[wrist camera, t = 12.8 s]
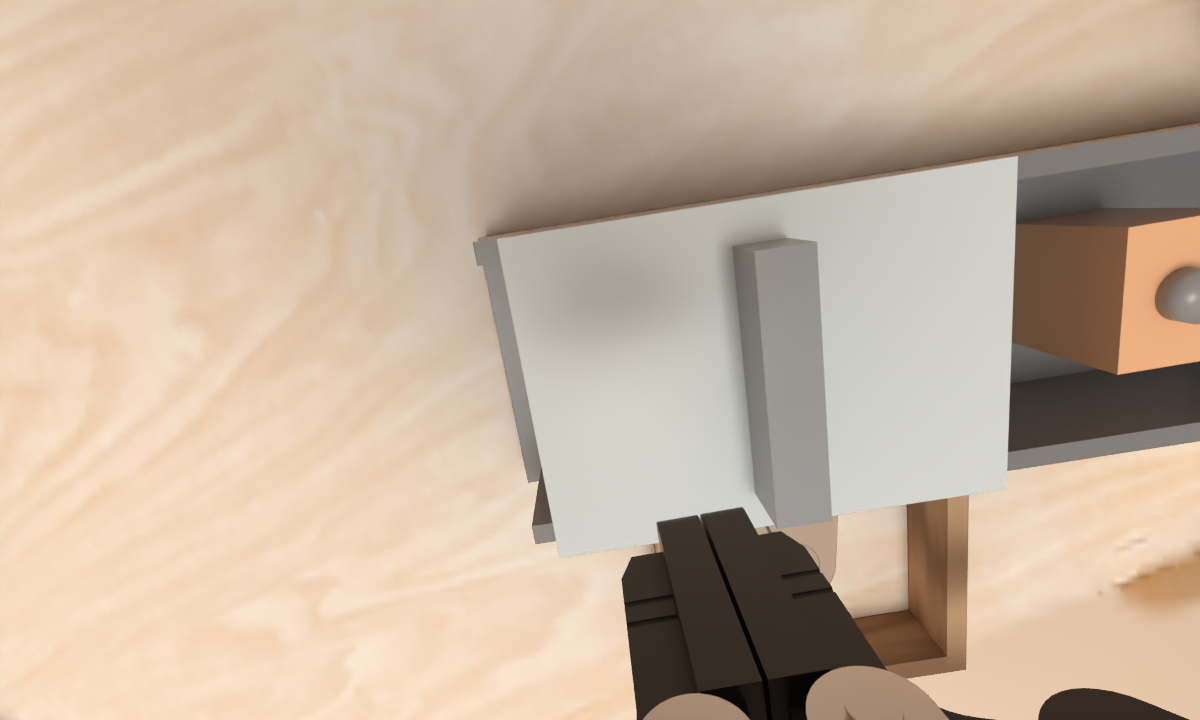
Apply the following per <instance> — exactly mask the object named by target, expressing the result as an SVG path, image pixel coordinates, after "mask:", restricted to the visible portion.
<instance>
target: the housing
mask: <svg viewBox="0 0 1200 720" xmlns="http://www.w3.org/2000/svg"><path fill="white" fill-rule="evenodd" d="M1015 156H1018V170H1017V200H1016V223H1017V222H1023V221H1029V220H1035V219H1040V218H1046V217H1052V216H1058V215H1064V214H1070V213H1076V212H1082V211H1088V210H1094V209H1100V208H1200V123H1194V124H1188V125H1181V126H1175V127H1169V128H1162V129H1156V130H1150V131H1144V132H1137V133H1131V134H1125V135H1119V136H1112V137H1106V138H1100V139H1094V140H1087V141H1081V142H1075V143H1069V144H1062V145H1056V146H1050V147H1044V148H1037V149H1031V150H1025V151H1018V152H1012V153H1006V154H1000V155H993V156H987V157H981V158H975V159H968V160H962V161H956V162H950V163H943V164H937V165H931V166H925V167H918V168H912V169H906V170H900V171H893V172H887V173H881V174H875V175H868V176H862V177H856V178H849V179H843V180H837V181H831V182H824V183H818V184H812V185H806V186H799V187H793V188H787V189H781V190H774V191H768V192H762V193H756V194H749V195H743V196H737V197H731V198H724V199H718V200H712V201H705V202H699V203H693V204H687V205H680V206H674V207H668V208H662V209H655V210H649V211H643V212H637V213H630V214H624V215H618V216H612V217H605V218H599V219H593V220H587V221H580V222H574V223H568V224H562V225H555V226H549V227H543V228H536V229H530V230H524V231H518V232H511V233H505V234H499V235H493V236H486V237H482V238H478V241H476V242H473V246H474V251H475V256H476V260H477V265H478V266H479V265H484V270H485V275H486V280H487V285H488V290H489V294H490V299H491V304H492V309H493V314H494V319H495V324H496V328H497V333H498V338H499V343H500V348H501V353H502V358H503V362H504V367H505V372H506V377H507V382H508V387H509V392H510V396H511V401H512V406H513V411H514V416H515V421H516V426H517V431H518V435H519V440H520V445H521V450H522V455H523V460H524V465H525V469H526V474H527V479H528V483H529V482H536V481H539V484H538V491H537V497H536V503H535V510H534V516H533V523H532V529H533V534H534V539H535V543H536V544H540V543H546V542H553V541H556V538H555V532H554V527H553V522H552V517H551V512H550V507H549V502H548V497H547V492H546V487H545V482H544V477H543V472H542V467H541V462H540V457H539V451H538V446H537V441H536V436H535V431H534V426H533V421H532V416H531V411H530V406H529V401H528V396H527V391H526V386H525V381H524V376H523V370H522V365H521V360H520V355H519V350H518V345H517V340H516V335H515V330H514V325H513V320H512V315H511V310H510V305H509V300H508V294H507V289H506V284H505V279H504V274H503V269H502V264H501V259H500V254H499V249H498V244H497V239H499V238H504V237H511V236H517V235H523V234H529V233H536V232H542V231H548V230H554V229H561V228H567V227H573V226H579V225H586V224H592V223H598V222H605V221H611V220H617V219H623V218H630V217H636V216H642V215H648V214H655V213H661V212H667V211H673V210H680V209H686V208H692V207H698V206H705V205H711V204H717V203H724V202H730V201H736V200H742V199H749V198H755V197H761V196H767V195H774V194H780V193H786V192H792V191H799V190H805V189H811V188H817V187H824V186H830V185H836V184H843V183H849V182H855V181H861V180H868V179H874V178H880V177H886V176H893V175H899V174H905V173H911V172H918V171H924V170H930V169H936V168H943V167H949V166H955V165H961V164H968V163H974V162H980V161H987V160H993V159H999V158H1007V157H1015ZM1196 441H1200V361H1198V362H1192V363H1186V364H1180V365H1174V366H1168V367H1161V368H1155V369H1149V370H1143V371H1137V372H1131V373H1125V374H1119V375H1117V374H1113V373H1110V372H1107V371H1103V370H1100V369H1097V368H1094V367H1090V366H1087V365H1084V364H1080V363H1077V362H1074V361H1071V360H1067V359H1064V358H1061V357H1057V356H1054V355H1051V354H1048V353H1044V352H1041V351H1038V350H1034V349H1031V348H1028V347H1025V346H1021V345H1018V344H1015V343H1012V345H1011V374H1010V403H1009V432H1008V461H1007V471H1010V470H1016V469H1023V468H1029V467H1036V466H1042V465H1048V464H1055V463H1061V462H1068V461H1074V460H1081V459H1087V458H1093V457H1100V456H1106V455H1113V454H1119V453H1126V452H1132V451H1139V450H1145V449H1151V448H1158V447H1164V446H1171V445H1177V444H1184V443H1190V442H1196Z"/></svg>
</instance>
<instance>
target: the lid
mask: <svg viewBox="0 0 1200 720" xmlns="http://www.w3.org/2000/svg"><path fill="white" fill-rule="evenodd" d="M1017 170H1018V156H1015V157H1007V158H999V159H993V160H987V161H980V162H974V163H968V164H961V165H955V166H949V167H943V168H936V169H930V170H924V171H918V172H911V173H905V174H899V175H893V176H886V177H880V178H874V179H868V180H861V181H855V182H849V183H843V184H836V185H830V186H824V187H817V188H811V189H805V190H799V191H792V192H786V193H780V194H774V195H767V196H761V197H755V198H749V199H742V200H736V201H730V202H724V203H717V204H711V205H705V206H698V207H692V208H686V209H680V210H673V211H667V212H661V213H655V214H648V215H642V216H636V217H630V218H623V219H617V220H611V221H605V222H598V223H592V224H586V225H579V226H573V227H567V228H561V229H554V230H548V231H542V232H536V233H529V234H523V235H517V236H511V237H504V238H499V239H497V244H498V249H499V254H500V259H501V264H502V269H503V274H504V279H505V284H506V289H507V294H508V300H509V305H510V310H511V315H512V320H513V325H514V330H515V335H516V340H517V345H518V350H519V355H520V360H521V365H522V370H523V376H524V381H525V386H526V391H527V396H528V401H529V406H530V411H531V416H532V421H533V426H534V431H535V436H536V441H537V446H538V451H539V457H540V462H541V467H542V472H543V477H544V482H545V487H546V492H547V497H548V502H549V507H550V512H551V517H552V522H553V527H554V532H555V538H556V543H557V548H558V553H559V558H565V557H571V556H578V555H584V554H591V553H597V552H603V551H610V550H616V549H623V548H629V547H636V546H642V545H649V544H655V543H659V538H658V532H657V525H656V522H659V521H665V520H670V519H676V518H682V517H688V516H693V515H698V517H699V519H700V514H704V513H710V512H715V511H721V510H727V509H732V508H738V507H743V508H744V510H745V511H746V513H747V515H748V517H749V519H750V520H751V522H752V524H753V526H754V528H758V527H765V526H771V525H775V526H776V528H777V529H783V528H790V527H796V526H803V525H809V524H816V523H822V522H829V521H832V516H836V515H842V514H848V513H855V512H861V511H868V510H874V509H881V508H887V507H894V506H900V505H907V504H913V503H919V502H926V501H932V500H939V499H945V498H952V497H958V496H965V495H971V494H977V493H984V492H990V491H997V490H1003V489H1007V461H1008V432H1009V403H1010V374H1011V345H1012V316H1013V287H1014V258H1015V229H1016V200H1017Z"/></svg>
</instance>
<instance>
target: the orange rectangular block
mask: <svg viewBox="0 0 1200 720" xmlns="http://www.w3.org/2000/svg"><path fill="white" fill-rule="evenodd" d="M1012 343H1015V344H1018V345H1021V346H1025V347H1028V348H1031V349H1034V350H1038V351H1041V352H1044V353H1048V354H1051V355H1054V356H1057V357H1061V358H1064V359H1067V360H1071V361H1074V362H1077V363H1080V364H1084V365H1087V366H1090V367H1094V368H1097V369H1100V370H1103V371H1107V372H1110V373H1113V374H1117V375H1119V374H1125V373H1131V372H1137V371H1143V370H1149V369H1155V368H1161V367H1168V366H1174V365H1180V364H1186V363H1192V362H1198V361H1200V208H1100V209H1094V210H1088V211H1082V212H1076V213H1070V214H1064V215H1058V216H1052V217H1046V218H1040V219H1035V220H1029V221H1023V222H1017V223H1016V229H1015V258H1014V287H1013V316H1012Z"/></svg>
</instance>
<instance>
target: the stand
mask: <svg viewBox="0 0 1200 720" xmlns="http://www.w3.org/2000/svg"><path fill="white" fill-rule="evenodd" d="M837 524H838V515H836V516H832V521H829V522H822V523H816V524H809V525H803V526H796V527H790V528H783V529H777V528H776V526H775V525H771V526H765V527H758V528H755V529H756V531H757V533H758V535H761V534H767V533H772V532H778V531H781V532H783V533H784V534H786V535H788V536H789V537H791V538H792V539H794V540H795V541H797V542H798V543H800V544H801V545H803V546H804V547H805V548H806V549H807V551H808V552H809V554H810V555H811V557H812V558H813V560H814V561H815V563H816V564H817V566H818V567H819V569H820V572H821V573H823V575H824V576H825V578H826V579H827V581H828V582H829V584H830V582H831V581H832V579H833V576H834V573H835V568H836V551H837Z"/></svg>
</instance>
